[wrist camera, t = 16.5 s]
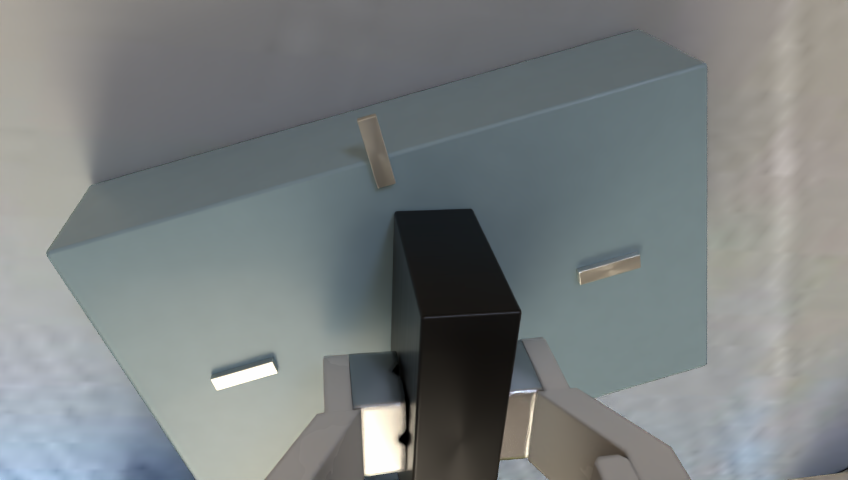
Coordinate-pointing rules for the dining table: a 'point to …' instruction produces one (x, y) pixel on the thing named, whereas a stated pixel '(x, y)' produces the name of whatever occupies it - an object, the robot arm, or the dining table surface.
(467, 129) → the switch panel
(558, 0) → the dining table surface
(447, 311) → the black rectangular block
